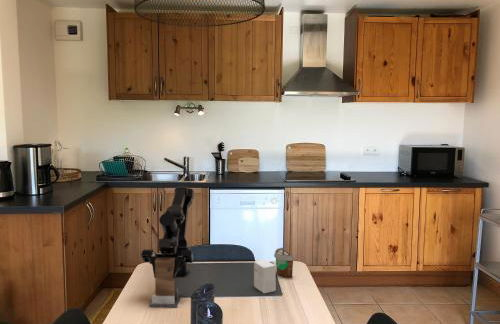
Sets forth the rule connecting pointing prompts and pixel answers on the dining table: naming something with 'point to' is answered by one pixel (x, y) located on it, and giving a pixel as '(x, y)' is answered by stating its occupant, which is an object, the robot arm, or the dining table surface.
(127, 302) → the dining table surface
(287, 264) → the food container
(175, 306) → the hinge base
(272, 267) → the small box
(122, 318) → the dining table surface
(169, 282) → the brown wooden block
